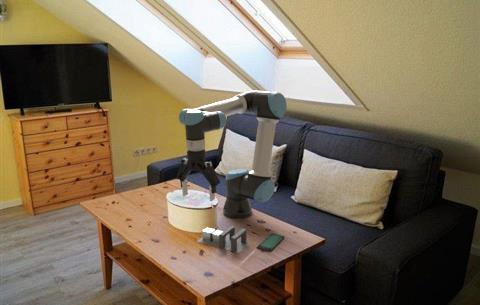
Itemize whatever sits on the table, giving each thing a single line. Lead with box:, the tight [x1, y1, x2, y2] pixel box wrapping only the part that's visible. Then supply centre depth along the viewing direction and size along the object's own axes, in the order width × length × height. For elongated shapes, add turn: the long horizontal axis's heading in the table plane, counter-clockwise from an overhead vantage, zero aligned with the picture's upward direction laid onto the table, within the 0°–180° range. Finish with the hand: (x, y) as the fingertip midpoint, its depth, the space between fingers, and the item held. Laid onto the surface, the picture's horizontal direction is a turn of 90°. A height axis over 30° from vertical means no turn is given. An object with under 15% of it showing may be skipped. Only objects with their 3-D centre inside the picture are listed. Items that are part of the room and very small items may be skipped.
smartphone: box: [256, 232, 285, 253], centre depth 176 cm, size 7×1×15 cm
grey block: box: [201, 227, 227, 243], centre depth 177 cm, size 10×4×4 cm, turn 60°
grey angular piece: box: [196, 225, 251, 254], centre depth 174 cm, size 10×22×7 cm, turn 60°
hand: (198, 197), depth 166 cm, fingers open, 13 cm apart
